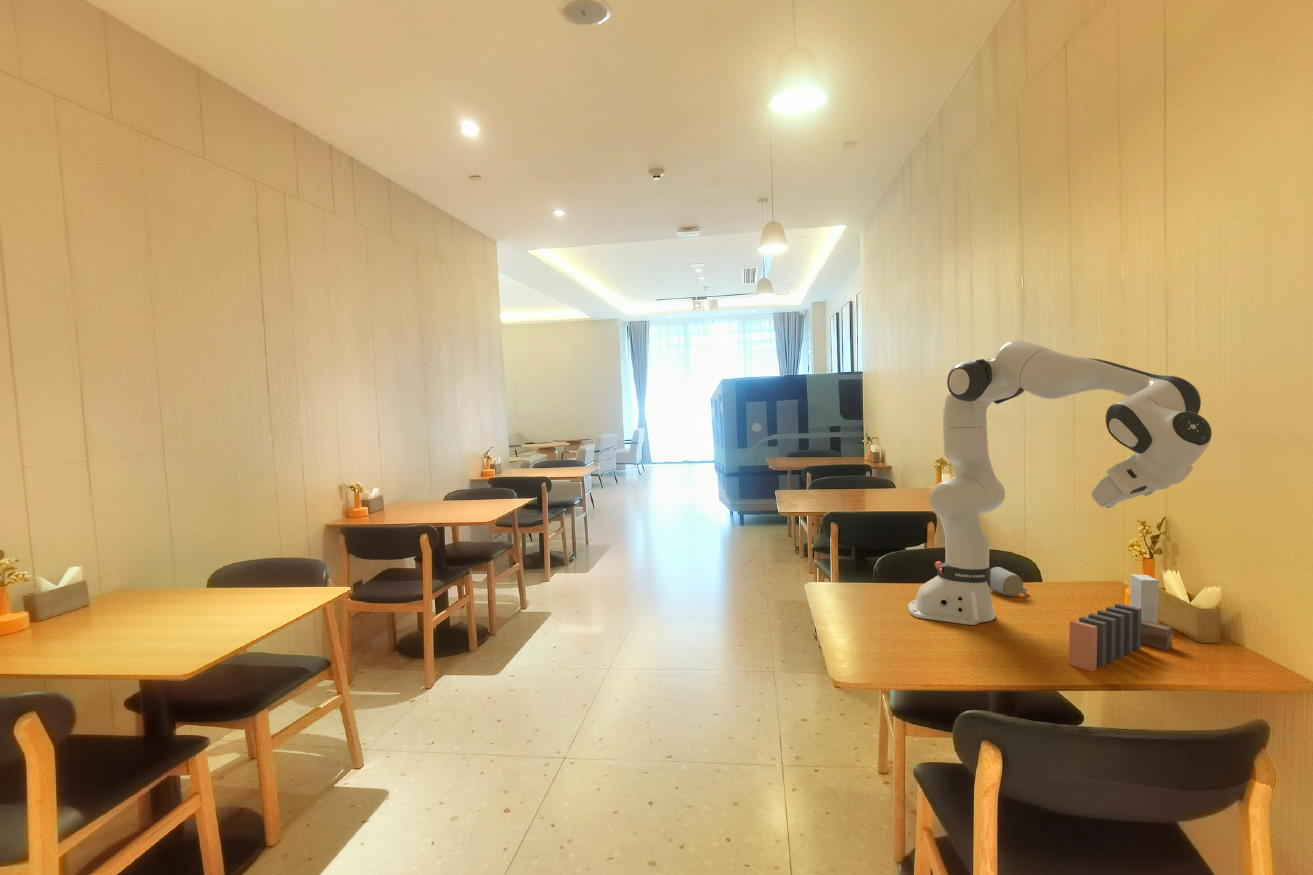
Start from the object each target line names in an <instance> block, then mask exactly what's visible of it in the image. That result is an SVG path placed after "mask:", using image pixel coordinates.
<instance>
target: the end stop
mask: <svg viewBox="0 0 1313 875" xmlns="http://www.w3.org/2000/svg"><path fill="white" fill-rule="evenodd" d="M1141 644H1142V645H1147V646H1151V647H1154V648H1158V649H1161V650H1165V651H1167V650H1170V649H1171V648H1173V626H1170V625H1166V624H1161V623H1159V622H1158V623H1154V622H1150V621H1145V620H1141Z"/></svg>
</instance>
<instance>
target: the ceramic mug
mask: <svg viewBox="0 0 1313 875" xmlns="http://www.w3.org/2000/svg"><path fill="white" fill-rule="evenodd" d="M1027 590H1028V589H1027V588H1024V583H1023V579H1022V578H1021V577H1020V576H1019V575H1017V574H1016V573H1013V572H1011V571H1009V570H1007V569H1005V568H1003V567H1000V566H995V567H992V568H991V585H990V591H992V592H996V593H998V594H1001V595H1003V596H1006V597H1009V598H1014V597H1017V596H1019V595H1020V594H1021V593H1022V594H1027V592H1028V591H1027Z"/></svg>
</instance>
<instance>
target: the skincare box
mask: <svg viewBox="0 0 1313 875" xmlns="http://www.w3.org/2000/svg"><path fill="white" fill-rule="evenodd" d="M1129 587H1130V588H1129V590H1130V592H1129V594H1130V595H1129V596H1130V597H1129V599H1130V600H1129V606H1132V607H1136V608H1141V620H1145V621H1150V622H1154V623H1158V624H1159V597H1160V596H1159V595H1160V594H1159V593H1160V591H1159V590H1160V589H1159V588H1160V580H1158V579H1156V578H1154V577H1152V576H1150V575H1148V574H1130V586H1129Z"/></svg>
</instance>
